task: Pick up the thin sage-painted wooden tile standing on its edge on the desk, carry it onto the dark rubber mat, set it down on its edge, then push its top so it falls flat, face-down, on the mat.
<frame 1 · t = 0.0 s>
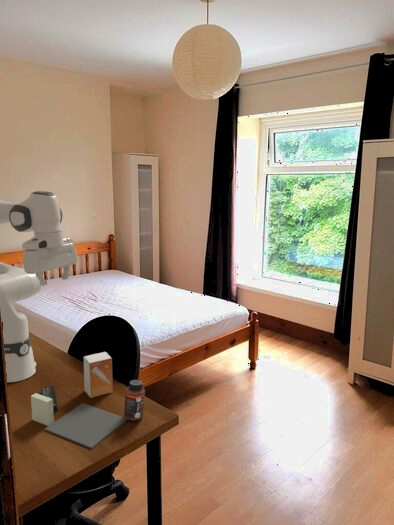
hand: (54, 282, 138), 39 cm above the table, tool pointing down, fingers open, 8 cm apart
mat: (87, 424, 125), on the table
supplement bottle: (133, 417, 129), on the table, touching mat
small box: (98, 392, 144), on the table
multiport hub: (49, 403, 137), on the table
tile: (43, 421, 126), on the table
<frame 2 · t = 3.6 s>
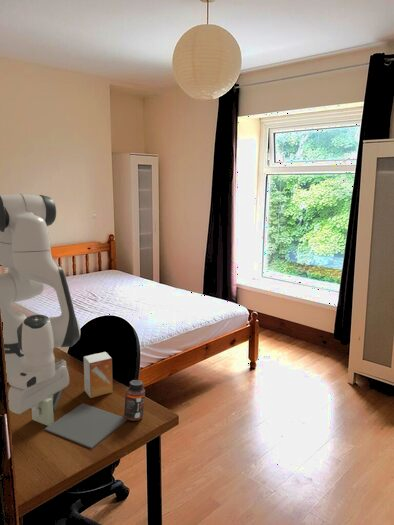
hand: (42, 411, 126), 3 cm above the table, tool pointing down, fingers closed on tile, 2 cm apart
tile: (43, 421, 126), on the table, touching gripper
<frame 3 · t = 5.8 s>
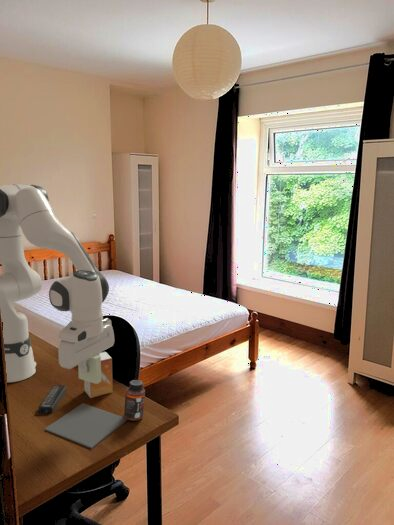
hand: (89, 370, 123), 17 cm above the table, tool pointing down, fingers closed on tile
tile: (90, 379, 124), point 14 cm above the table, touching gripper
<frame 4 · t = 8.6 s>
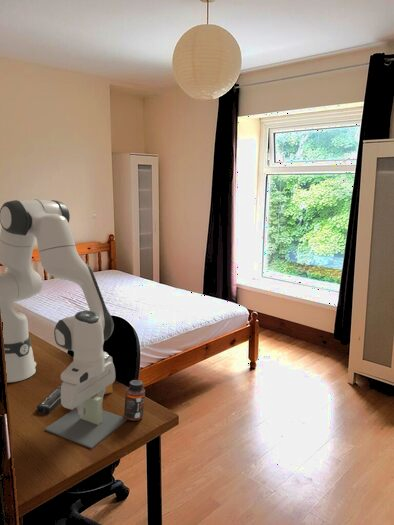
hand: (90, 407, 126), 5 cm above the table, tool pointing down, fingers open, 6 cm apart
tile: (91, 419, 127), resting on mat
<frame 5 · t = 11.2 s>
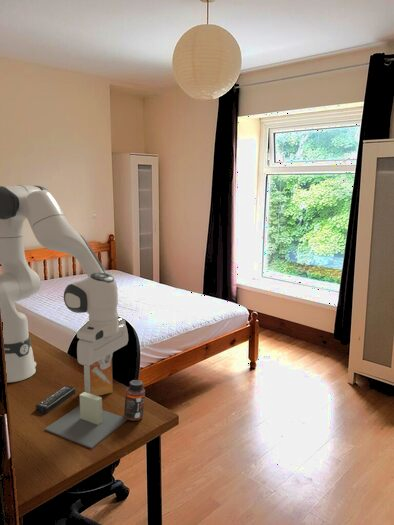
hand: (105, 367, 130), 15 cm above the table, tool pointing down, fingers closed
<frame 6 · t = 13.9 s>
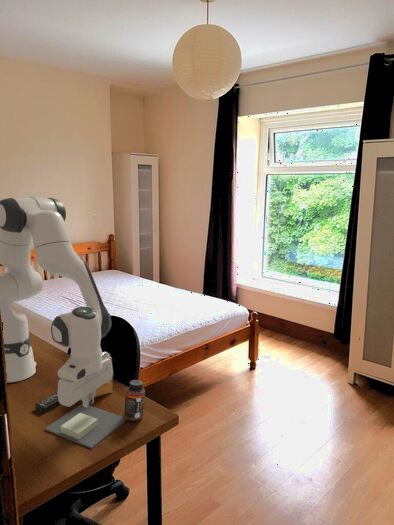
hand: (88, 405, 124), 6 cm above the table, tool pointing down, fingers closed
tile: (88, 418, 125), point 1 cm above the table, tilted 90°, touching mat
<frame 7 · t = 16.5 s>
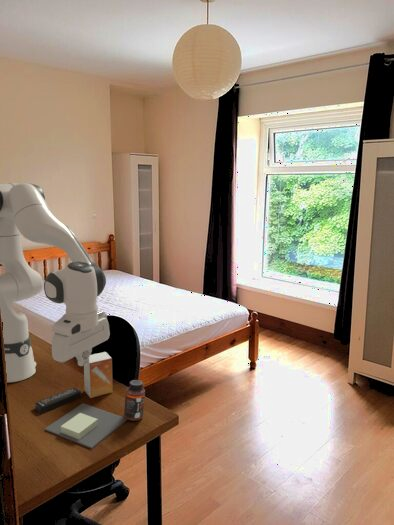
hand: (83, 364, 121), 20 cm above the table, tool pointing down, fingers closed
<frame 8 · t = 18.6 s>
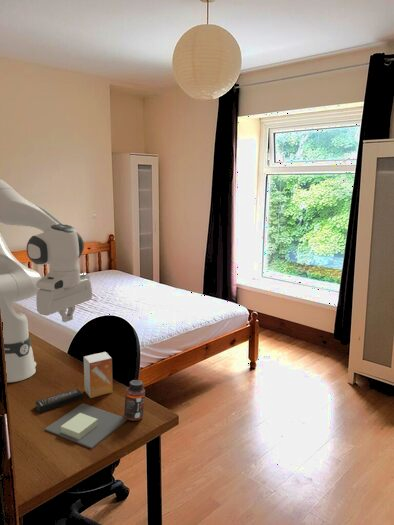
hand: (67, 320, 130), 29 cm above the table, tool pointing down, fingers closed
at the end: tile tilted 90°; tile inside the target area on the mat (0.9 cm from its centre), point 1.5 cm above the mat's base; the gripper is holding nothing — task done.
